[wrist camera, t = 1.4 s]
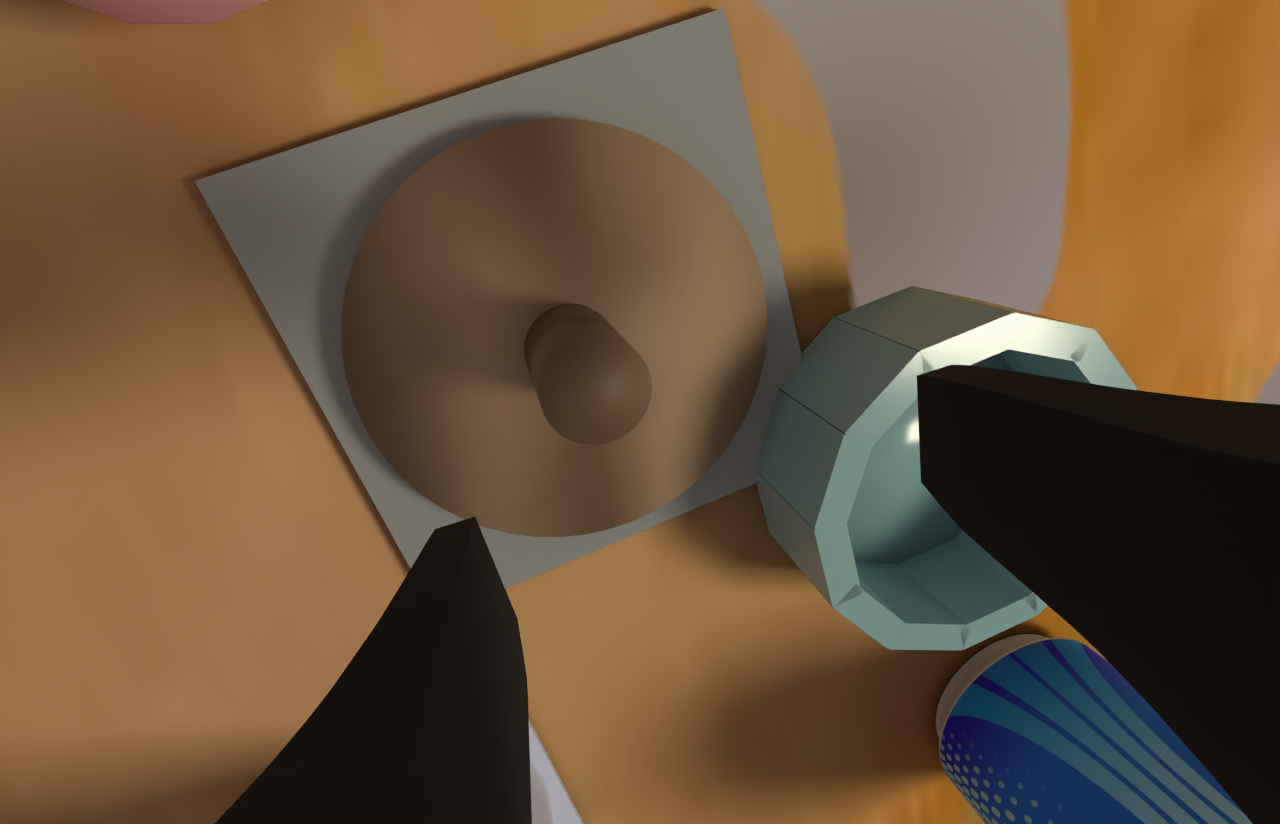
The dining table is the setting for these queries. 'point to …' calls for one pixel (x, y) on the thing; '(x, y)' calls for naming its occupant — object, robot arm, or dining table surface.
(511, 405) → the lid
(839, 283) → the dining table surface
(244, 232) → the mat
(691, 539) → the dining table surface
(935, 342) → the bowl
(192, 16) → the perfume bottle
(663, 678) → the dining table surface
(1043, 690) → the beer can
